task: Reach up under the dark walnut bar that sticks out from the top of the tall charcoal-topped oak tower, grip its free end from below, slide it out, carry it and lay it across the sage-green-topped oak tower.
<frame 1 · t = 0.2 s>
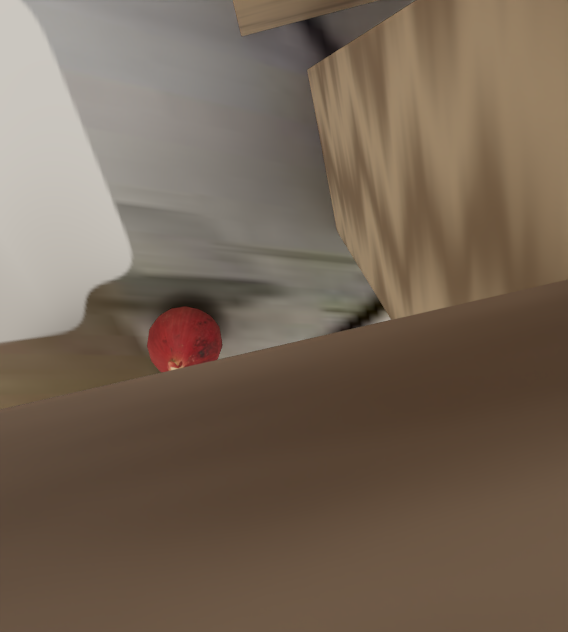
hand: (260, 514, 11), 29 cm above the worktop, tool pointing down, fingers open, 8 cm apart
onion: (191, 322, 41), on the worktop
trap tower: (413, 133, 35), on the worktop
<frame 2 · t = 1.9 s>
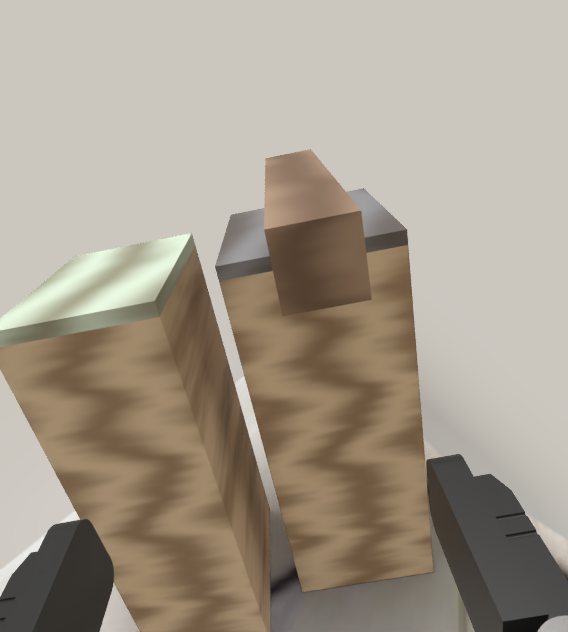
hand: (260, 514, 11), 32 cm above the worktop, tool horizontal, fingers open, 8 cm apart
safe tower: (220, 575, 46), on the worktop
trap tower: (354, 518, 49), on the worktop
walnut bar: (306, 235, 31), point 32 cm above the worktop, touching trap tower
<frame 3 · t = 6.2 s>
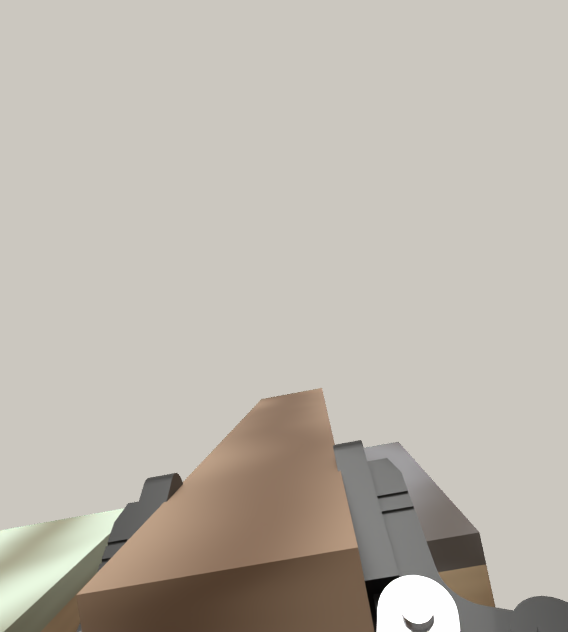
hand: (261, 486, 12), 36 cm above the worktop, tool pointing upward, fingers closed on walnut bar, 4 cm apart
walnut bar: (297, 527, 18), point 32 cm above the worktop, touching gripper, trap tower
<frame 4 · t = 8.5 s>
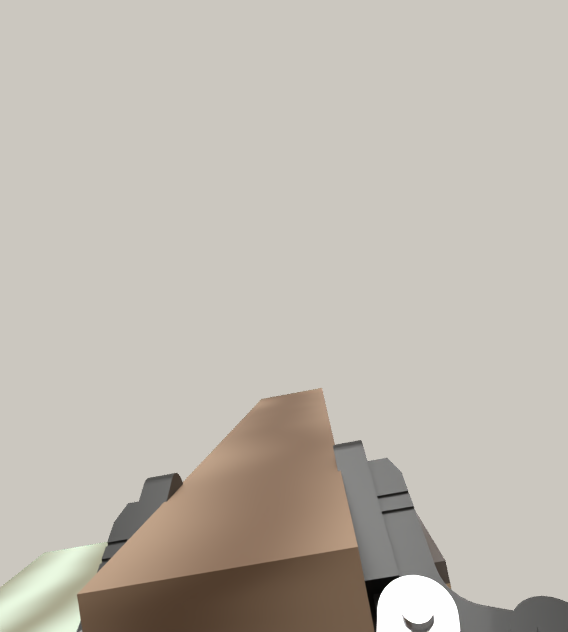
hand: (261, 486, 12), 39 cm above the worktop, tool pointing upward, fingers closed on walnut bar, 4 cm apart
walnut bar: (297, 527, 18), point 36 cm above the worktop, touching gripper
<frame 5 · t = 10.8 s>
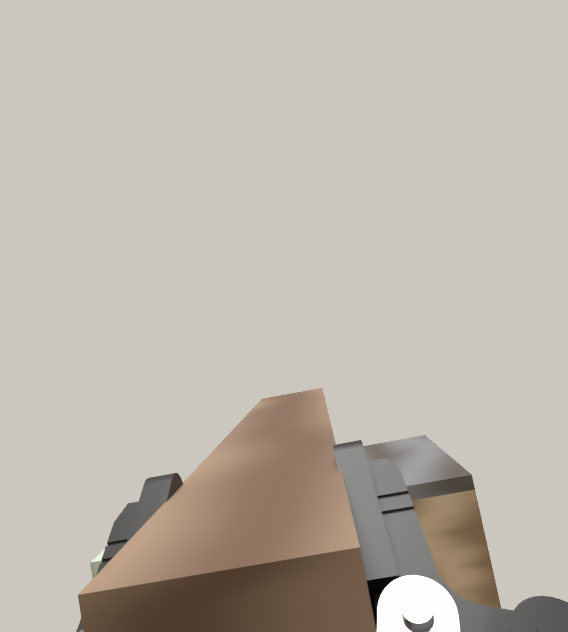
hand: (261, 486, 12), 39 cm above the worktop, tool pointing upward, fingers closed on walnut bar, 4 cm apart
walnut bar: (298, 527, 18), point 36 cm above the worktop, touching gripper
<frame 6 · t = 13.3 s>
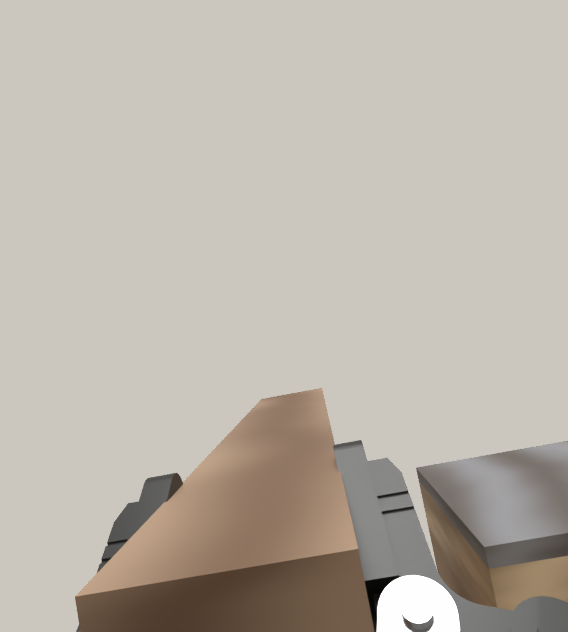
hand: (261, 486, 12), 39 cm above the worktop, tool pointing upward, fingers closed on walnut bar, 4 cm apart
walnut bar: (297, 527, 18), point 36 cm above the worktop, touching gripper
when the fingers open (36 cm above the worktop, at t = 15.3 s): walnut bar stays where it is, resting on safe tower.
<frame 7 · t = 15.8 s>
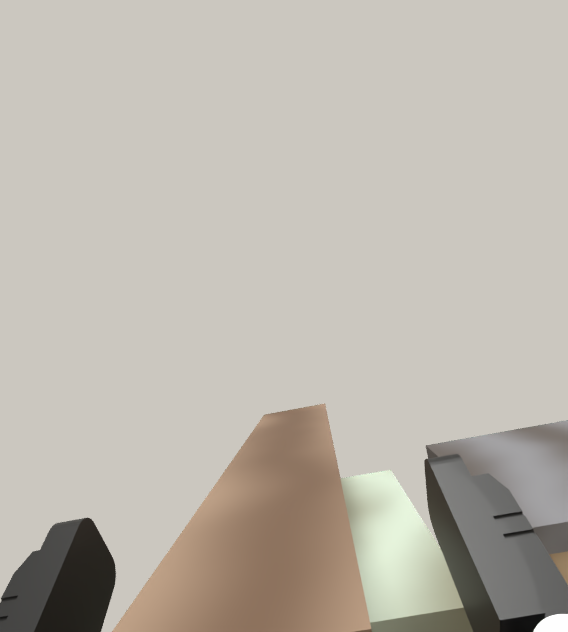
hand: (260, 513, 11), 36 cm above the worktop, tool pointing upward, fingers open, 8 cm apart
walnut bar: (301, 555, 18), point 32 cm above the worktop, touching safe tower
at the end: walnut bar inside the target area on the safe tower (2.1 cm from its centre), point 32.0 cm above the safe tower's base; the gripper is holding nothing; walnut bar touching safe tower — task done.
